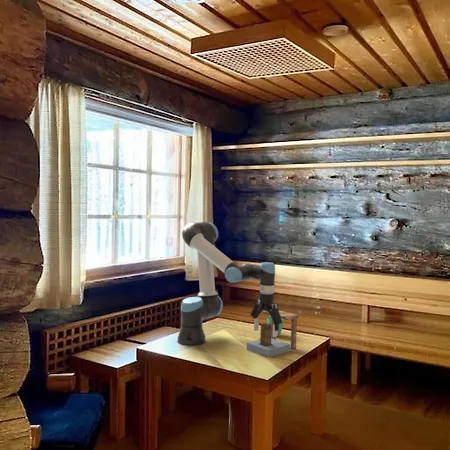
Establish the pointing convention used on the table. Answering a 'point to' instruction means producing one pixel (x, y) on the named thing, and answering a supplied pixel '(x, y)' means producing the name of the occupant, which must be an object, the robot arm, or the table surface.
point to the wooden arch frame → (293, 325)
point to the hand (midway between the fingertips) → (265, 333)
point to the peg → (265, 334)
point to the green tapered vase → (269, 321)
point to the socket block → (269, 347)
